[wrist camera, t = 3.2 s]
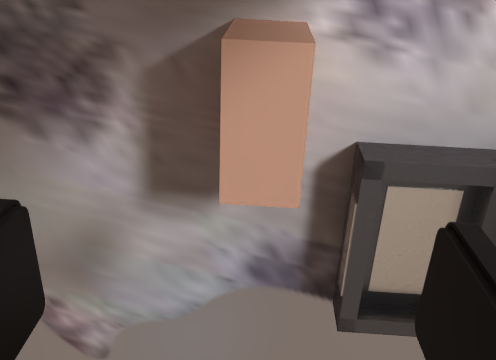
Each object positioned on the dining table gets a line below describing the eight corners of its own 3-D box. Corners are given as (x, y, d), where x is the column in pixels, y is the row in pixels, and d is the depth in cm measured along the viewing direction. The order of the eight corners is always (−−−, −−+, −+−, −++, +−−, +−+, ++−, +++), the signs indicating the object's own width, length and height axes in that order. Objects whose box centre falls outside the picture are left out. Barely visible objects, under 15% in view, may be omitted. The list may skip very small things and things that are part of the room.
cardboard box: (234, 18, 23) (221, 38, 18) (306, 22, 23) (315, 43, 17) (231, 151, 26) (219, 203, 21) (294, 154, 26) (299, 208, 21)
